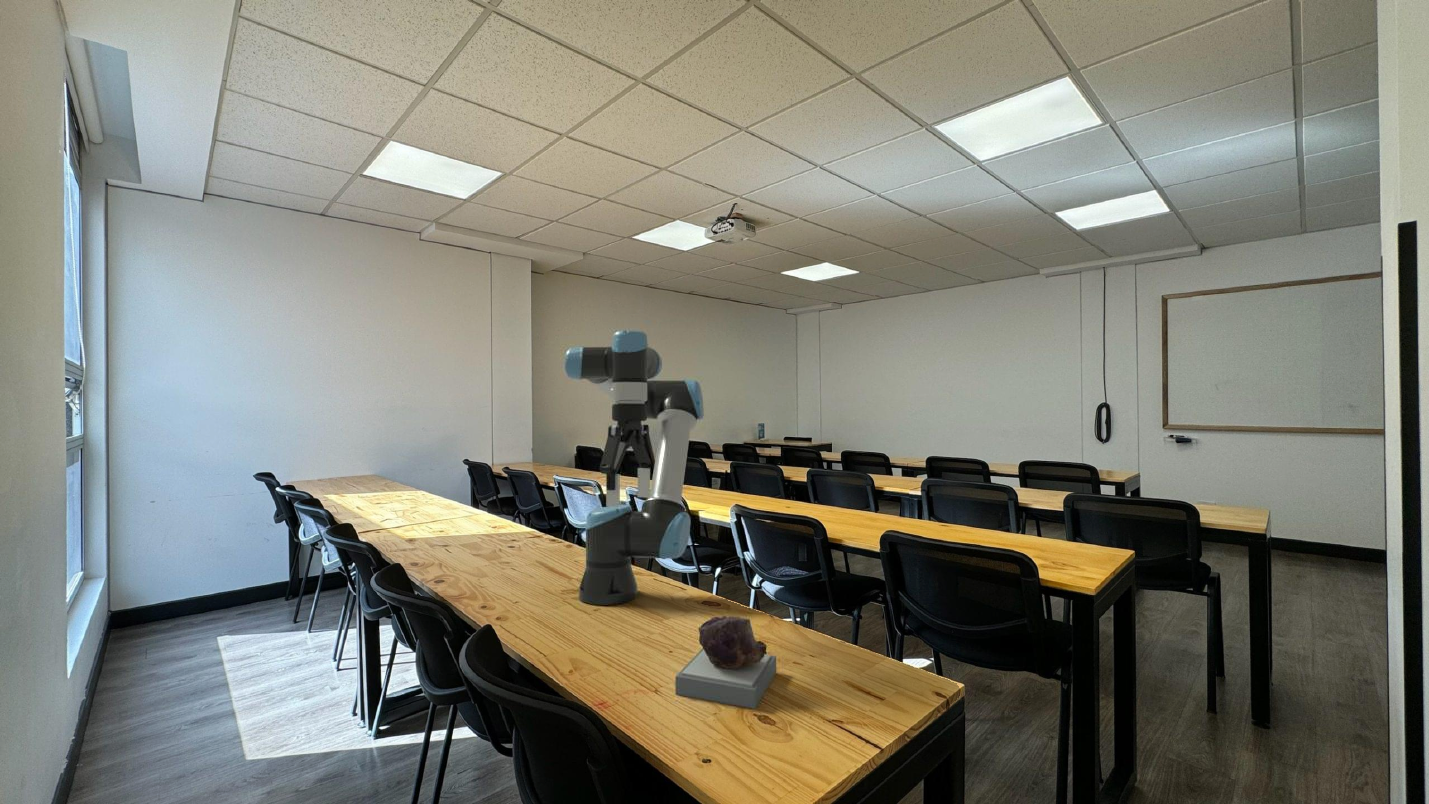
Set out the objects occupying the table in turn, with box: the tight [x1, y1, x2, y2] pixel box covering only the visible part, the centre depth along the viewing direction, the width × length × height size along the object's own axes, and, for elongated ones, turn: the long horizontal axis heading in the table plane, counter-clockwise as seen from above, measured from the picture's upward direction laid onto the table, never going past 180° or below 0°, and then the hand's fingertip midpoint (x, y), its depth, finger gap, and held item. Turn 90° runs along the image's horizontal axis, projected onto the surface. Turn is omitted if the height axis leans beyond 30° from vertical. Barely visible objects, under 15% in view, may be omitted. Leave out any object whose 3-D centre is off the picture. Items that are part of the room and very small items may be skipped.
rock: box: [698, 615, 767, 669], centre depth 101 cm, size 12×9×10 cm
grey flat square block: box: [674, 647, 777, 710], centre depth 102 cm, size 14×14×3 cm
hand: (629, 501), depth 124 cm, fingers open, 13 cm apart
